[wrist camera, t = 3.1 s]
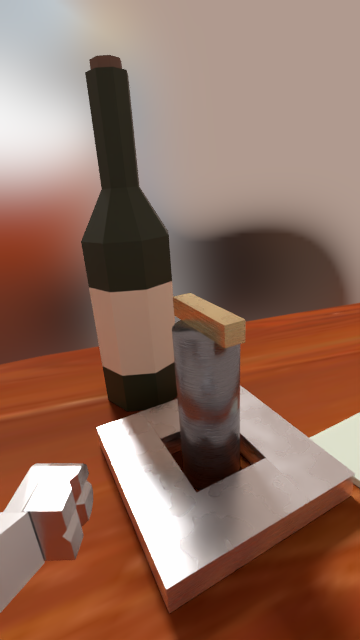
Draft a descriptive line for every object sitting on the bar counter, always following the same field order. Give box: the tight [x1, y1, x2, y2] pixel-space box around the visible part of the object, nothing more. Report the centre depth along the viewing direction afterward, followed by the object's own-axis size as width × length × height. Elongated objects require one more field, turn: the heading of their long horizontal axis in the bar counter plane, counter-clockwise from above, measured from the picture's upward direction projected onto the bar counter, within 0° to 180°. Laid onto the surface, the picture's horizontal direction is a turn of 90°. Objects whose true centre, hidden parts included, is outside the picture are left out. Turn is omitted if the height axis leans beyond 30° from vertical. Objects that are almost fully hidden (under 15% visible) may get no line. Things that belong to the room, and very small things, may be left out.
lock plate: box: [97, 386, 355, 613], centre depth 25 cm, size 14×14×2 cm
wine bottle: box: [81, 55, 177, 411], centre depth 31 cm, size 8×8×30 cm
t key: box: [172, 293, 245, 490], centre depth 23 cm, size 6×4×13 cm
